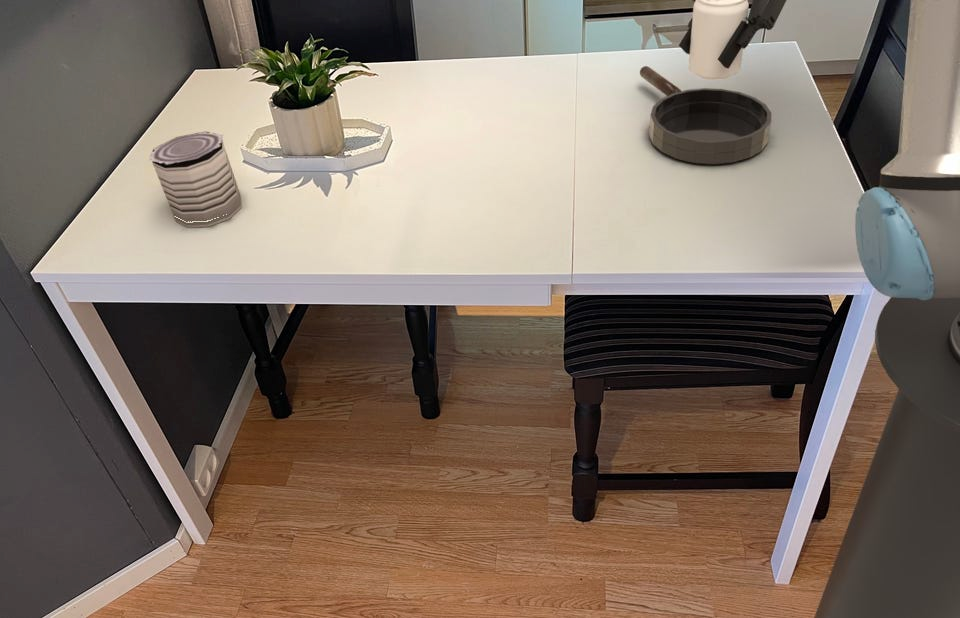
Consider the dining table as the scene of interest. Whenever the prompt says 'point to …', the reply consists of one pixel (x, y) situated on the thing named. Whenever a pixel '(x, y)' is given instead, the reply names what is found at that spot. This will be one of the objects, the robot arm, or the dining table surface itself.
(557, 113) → the dining table surface
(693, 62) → the beverage can
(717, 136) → the pan
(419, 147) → the dining table surface
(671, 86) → the pan handle
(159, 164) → the can
